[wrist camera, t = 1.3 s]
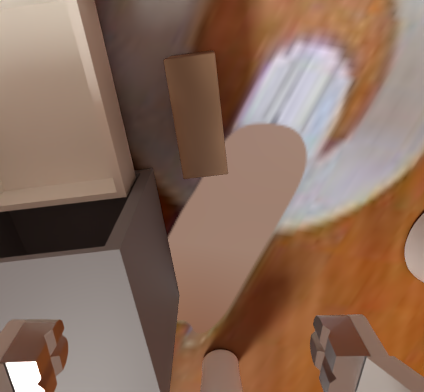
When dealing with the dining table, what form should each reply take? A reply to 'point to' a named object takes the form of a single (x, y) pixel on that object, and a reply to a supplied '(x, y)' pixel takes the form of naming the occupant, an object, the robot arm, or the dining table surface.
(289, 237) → the dining table surface
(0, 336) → the robot arm
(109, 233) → the cabinet
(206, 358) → the drinking glass
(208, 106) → the walnut block
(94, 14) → the drawer
